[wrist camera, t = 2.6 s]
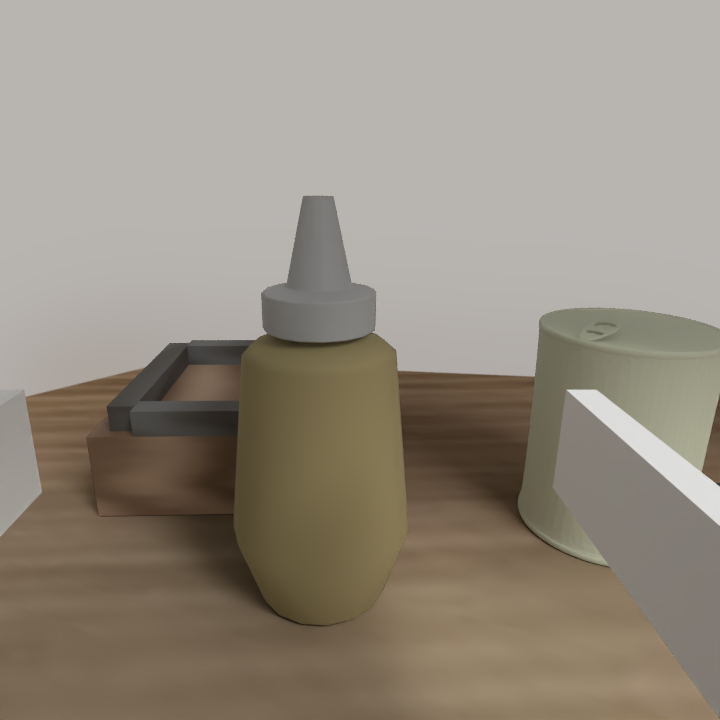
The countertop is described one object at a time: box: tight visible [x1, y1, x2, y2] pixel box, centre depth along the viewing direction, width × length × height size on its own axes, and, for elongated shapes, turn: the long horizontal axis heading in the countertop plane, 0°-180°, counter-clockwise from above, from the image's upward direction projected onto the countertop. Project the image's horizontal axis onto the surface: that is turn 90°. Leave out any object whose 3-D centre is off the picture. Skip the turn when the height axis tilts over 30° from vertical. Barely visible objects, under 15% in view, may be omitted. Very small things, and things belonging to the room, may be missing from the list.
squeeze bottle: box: [233, 196, 408, 625], centre depth 24 cm, size 8×8×18 cm
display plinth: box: [86, 340, 255, 516], centre depth 38 cm, size 16×14×6 cm
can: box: [518, 308, 720, 567], centre depth 31 cm, size 9×9×12 cm
